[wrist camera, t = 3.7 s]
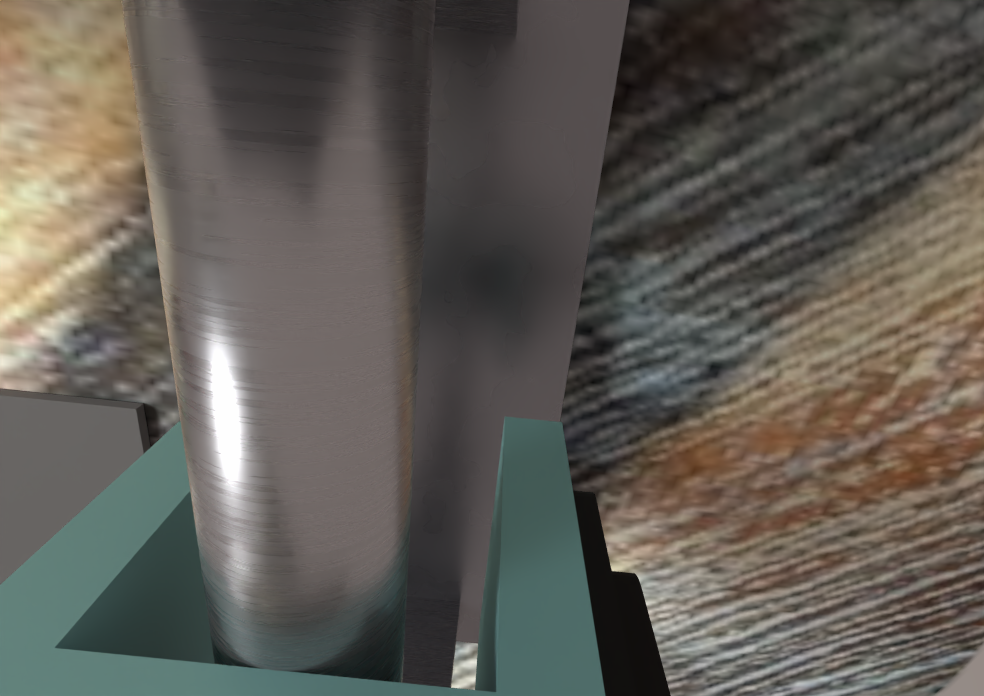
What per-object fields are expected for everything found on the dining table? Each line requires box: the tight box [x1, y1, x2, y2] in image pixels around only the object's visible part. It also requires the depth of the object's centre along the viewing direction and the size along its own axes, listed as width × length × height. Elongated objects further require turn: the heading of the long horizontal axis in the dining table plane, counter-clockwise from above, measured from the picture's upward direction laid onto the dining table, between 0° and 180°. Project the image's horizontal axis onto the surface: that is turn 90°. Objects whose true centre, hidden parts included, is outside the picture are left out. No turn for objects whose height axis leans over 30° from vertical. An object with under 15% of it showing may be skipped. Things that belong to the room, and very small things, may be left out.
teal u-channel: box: [0, 416, 605, 696], centre depth 8 cm, size 5×6×6 cm
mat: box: [0, 389, 151, 585], centre depth 21 cm, size 12×10×1 cm
